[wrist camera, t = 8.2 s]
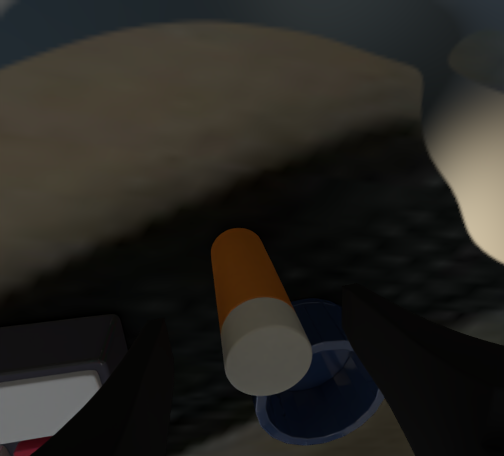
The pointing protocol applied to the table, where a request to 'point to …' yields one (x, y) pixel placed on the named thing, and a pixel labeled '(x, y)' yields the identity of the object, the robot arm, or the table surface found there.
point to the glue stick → (256, 318)
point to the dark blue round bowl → (321, 385)
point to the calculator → (52, 375)
